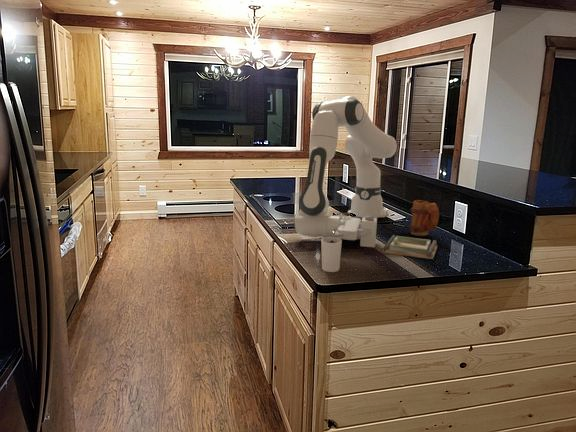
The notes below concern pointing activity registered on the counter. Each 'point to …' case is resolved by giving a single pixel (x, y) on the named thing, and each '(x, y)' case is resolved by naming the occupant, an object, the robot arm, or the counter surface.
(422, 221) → the orange brown rounded block
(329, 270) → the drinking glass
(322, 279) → the counter surface
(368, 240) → the white capped container
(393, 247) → the tray
